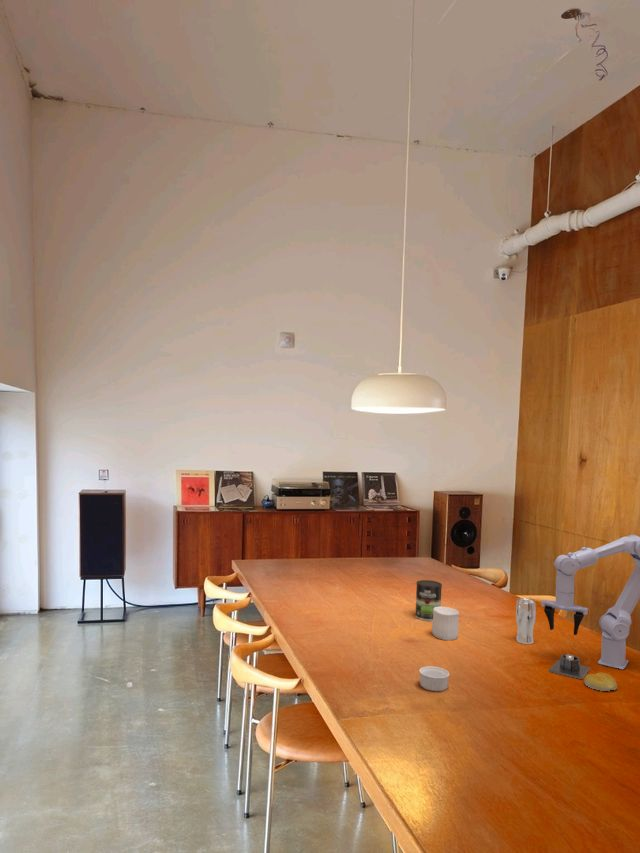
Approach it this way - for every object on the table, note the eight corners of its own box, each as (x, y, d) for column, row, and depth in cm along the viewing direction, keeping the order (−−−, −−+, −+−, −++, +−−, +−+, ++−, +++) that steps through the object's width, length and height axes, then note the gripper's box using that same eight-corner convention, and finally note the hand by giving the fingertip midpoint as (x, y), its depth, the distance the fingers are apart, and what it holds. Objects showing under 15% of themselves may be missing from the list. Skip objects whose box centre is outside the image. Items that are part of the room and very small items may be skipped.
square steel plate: (557, 661, 202) (558, 647, 202) (589, 669, 196) (590, 654, 196) (549, 671, 193) (549, 656, 193) (582, 680, 187) (582, 664, 187)
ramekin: (428, 677, 185) (428, 663, 185) (454, 686, 179) (454, 671, 179) (413, 686, 178) (413, 671, 178) (439, 695, 173) (440, 680, 173)
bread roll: (578, 682, 186) (578, 669, 186) (602, 680, 188) (603, 668, 188) (597, 694, 178) (597, 680, 178) (622, 692, 180) (622, 678, 180)
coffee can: (439, 622, 240) (440, 587, 240) (413, 619, 243) (414, 584, 243) (441, 615, 250) (443, 581, 250) (417, 612, 253) (418, 579, 253)
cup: (451, 642, 217) (452, 615, 217) (426, 636, 223) (427, 610, 223) (462, 636, 225) (463, 610, 225) (438, 630, 231) (439, 604, 231)
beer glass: (519, 636, 226) (520, 597, 226) (537, 641, 222) (538, 600, 222) (511, 641, 221) (513, 600, 221) (530, 646, 217) (532, 604, 217)
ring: (563, 663, 199) (563, 652, 199) (581, 668, 195) (581, 657, 195) (558, 668, 194) (558, 657, 194) (576, 673, 191) (577, 662, 191)
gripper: (539, 589, 204) (538, 629, 204) (585, 597, 196) (583, 639, 196) (545, 585, 210) (544, 624, 210) (589, 593, 202) (588, 634, 201)
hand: (563, 631), depth 203 cm, fingers open, 7 cm apart
